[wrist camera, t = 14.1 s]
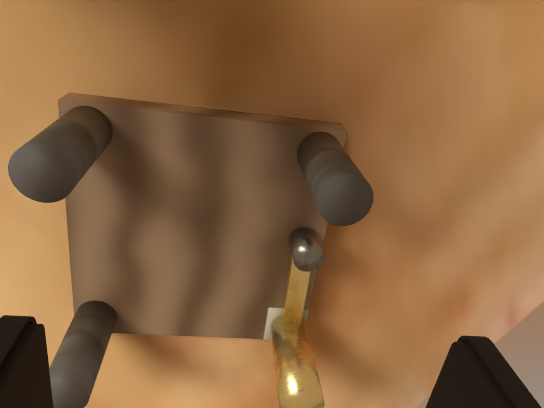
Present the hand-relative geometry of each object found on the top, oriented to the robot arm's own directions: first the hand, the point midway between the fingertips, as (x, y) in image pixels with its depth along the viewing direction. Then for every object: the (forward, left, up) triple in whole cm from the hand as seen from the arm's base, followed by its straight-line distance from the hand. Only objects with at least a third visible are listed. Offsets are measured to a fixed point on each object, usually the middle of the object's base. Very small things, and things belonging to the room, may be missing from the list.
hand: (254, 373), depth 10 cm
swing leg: (+7, -16, -25) cm, 31 cm away
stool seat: (-2, -12, -28) cm, 31 cm away
